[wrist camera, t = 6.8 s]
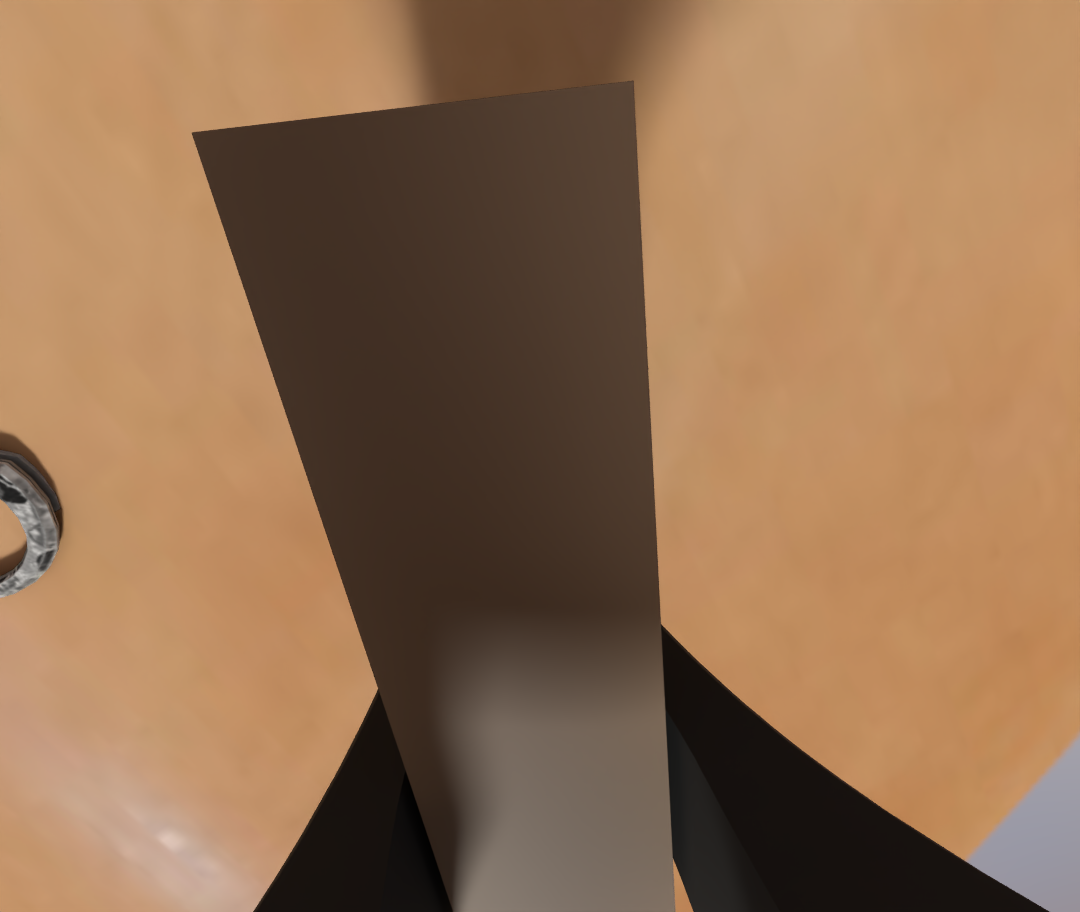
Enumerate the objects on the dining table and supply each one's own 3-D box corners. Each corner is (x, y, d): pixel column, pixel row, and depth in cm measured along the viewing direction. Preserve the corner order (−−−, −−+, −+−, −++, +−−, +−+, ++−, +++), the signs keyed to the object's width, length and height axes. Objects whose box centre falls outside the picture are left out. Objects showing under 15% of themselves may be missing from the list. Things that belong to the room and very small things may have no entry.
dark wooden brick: (526, 177, 9) (633, 80, 4) (596, 739, 15) (681, 1038, 9) (353, 201, 9) (191, 131, 3) (489, 764, 14) (511, 1087, 9)
